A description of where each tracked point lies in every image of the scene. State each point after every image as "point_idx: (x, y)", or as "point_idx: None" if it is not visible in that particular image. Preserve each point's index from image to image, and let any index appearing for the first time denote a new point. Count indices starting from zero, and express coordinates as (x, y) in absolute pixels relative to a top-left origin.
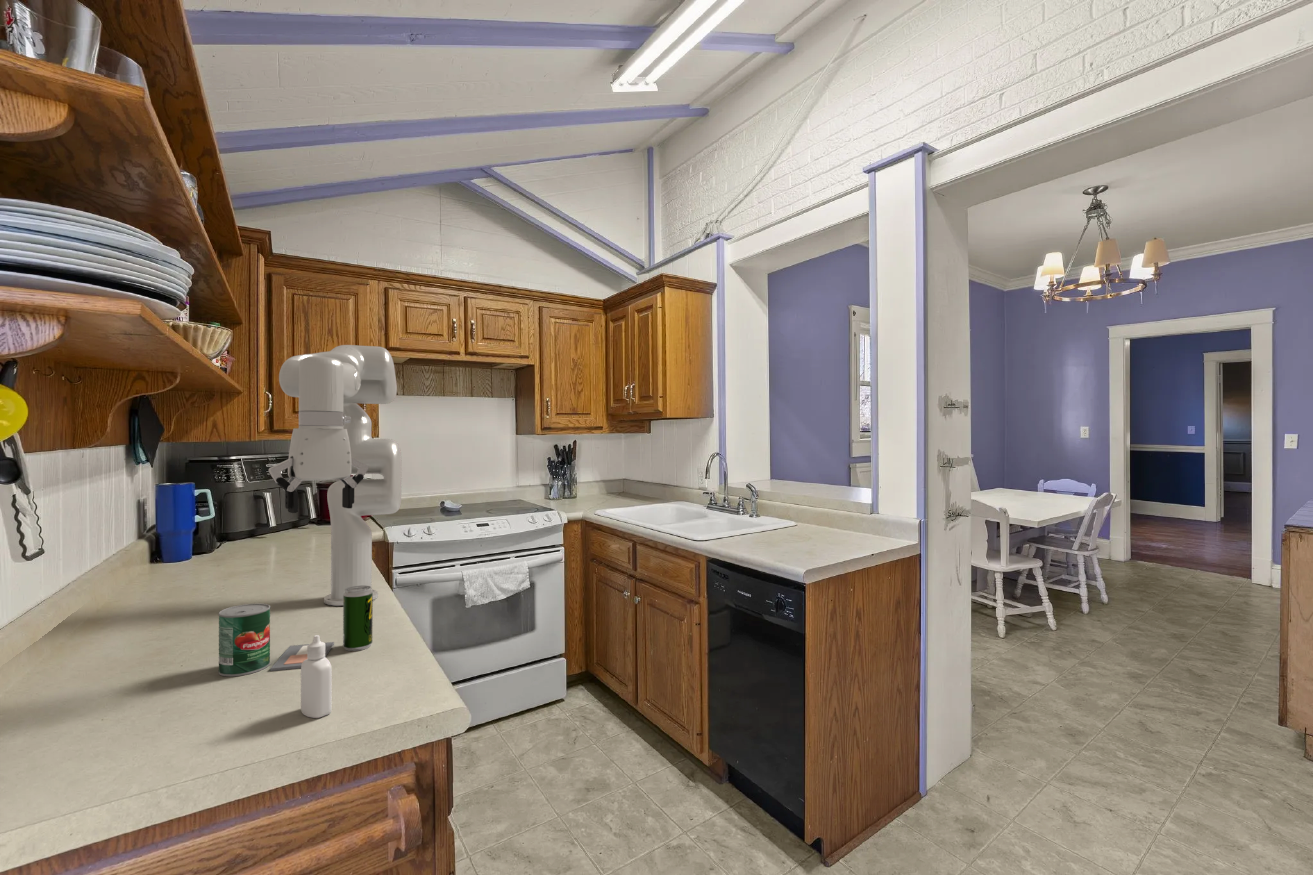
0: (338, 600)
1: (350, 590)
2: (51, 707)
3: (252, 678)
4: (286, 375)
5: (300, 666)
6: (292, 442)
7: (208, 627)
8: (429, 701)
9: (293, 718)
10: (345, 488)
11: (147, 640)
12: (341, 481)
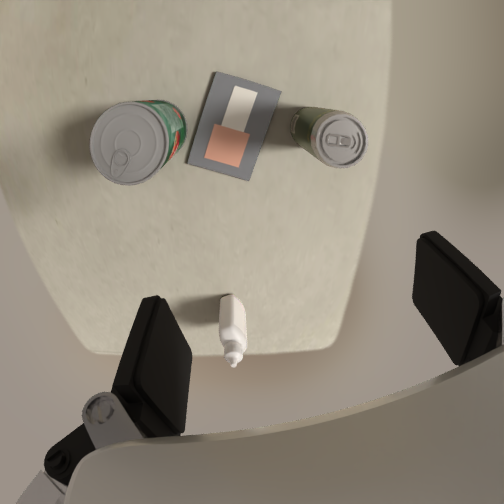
0: None
1: (325, 147)
2: (11, 166)
3: (168, 178)
4: None
5: (225, 173)
6: None
7: None
8: (322, 331)
9: (213, 309)
10: (476, 325)
11: None
12: (502, 339)
